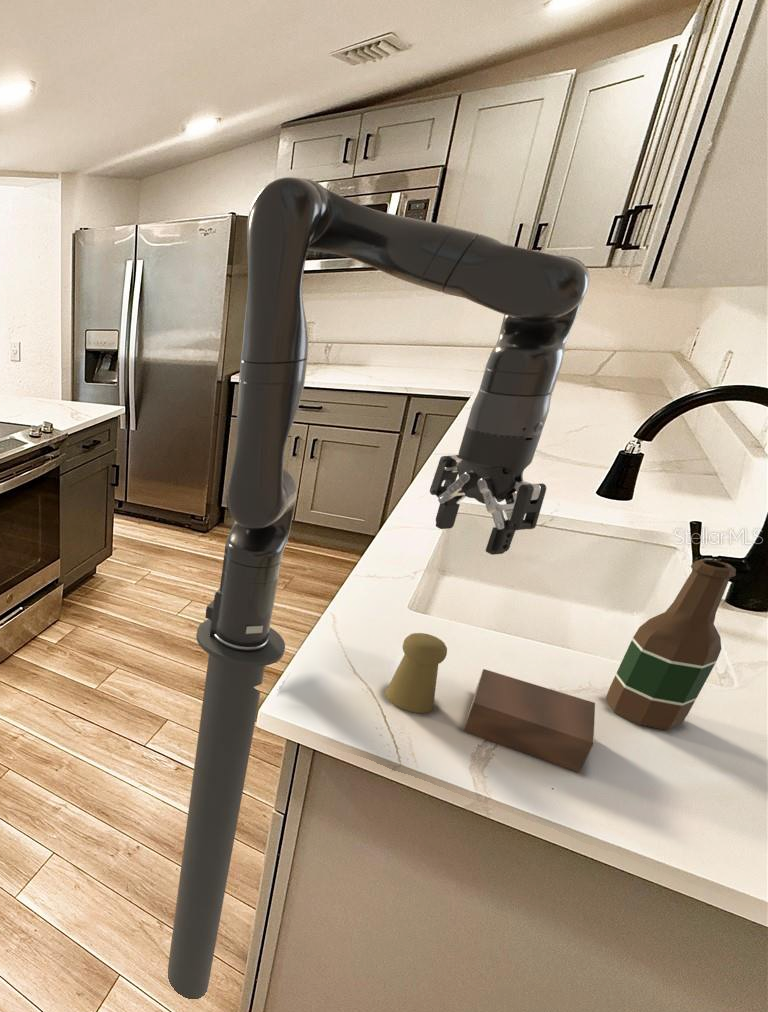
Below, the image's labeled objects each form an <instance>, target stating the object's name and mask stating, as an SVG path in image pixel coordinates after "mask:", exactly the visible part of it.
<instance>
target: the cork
mask: <svg viewBox="0 0 768 1012" xmlns="http://www.w3.org/2000/svg"><path fill="white" fill-rule="evenodd" d="M402 651H403V653H404V655H403V656H402V658H401V660H400V663H399V665H398V666H397V669H396V671H395V672H394V675H393V676H392V678H391V681H390V682H389V684H388V686H387V689H386V690H385V693H384V694H385V697H386V699H387V700H388V701H389V702H390V703H391V704H393V705H394V706H395V707H398V708H399V709H401V710H405V711H407V712H409V713H410V712H411V713H416V714H426V713H429V712H431V711H432V710H433V709H434V706H435V705H434V704H435V697H436V687H437V680H438V672H439V665H440V664H441V663H442V662H444V661H445V659H446V657H447V655H448V648H447V645H446V643H445V642H444V641H443V640H442V639H440V638H438V637H437V636H435V635H432V634H428V633H423V632H415V633H411V634H409V635H408V636H406V637H405V638H404V639H403V643H402Z"/></svg>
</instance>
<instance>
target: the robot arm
mask: <svg viewBox="0 0 768 1012" xmlns="http://www.w3.org/2000/svg"><path fill="white" fill-rule="evenodd" d="M246 243H247V244H246V245H247V246H246V247H247V298H246V305H245V312H244V313H245V315H244V323H243V337H242V338H243V339H242V345H241V353H240V364H239V376H238V378H239V379H238V399H237V400H238V401H237V412H236V413H237V414H236V435H235V436H236V440H235V441H236V442H235V448H234V455H233V461H232V465H231V471H230V475H229V480H228V485H227V489H226V499H225V500H226V507H227V510H228V513H229V515H230V518H231V519H232V520H233V522H232V526H231V529H230V531H229V533H228V535H227V538H226V541H225V545H224V546H225V547H224V553H223V560H222V569H221V576H220V584H219V589H217V590H216V591H215V592H214V598H213V599H212V601H211V602H210V603H208V604H207V605H206V609H205V617H204V618H205V619H206V620H208V619H210V620H211V628H210V635H209V636H210V637H212V638H215V640H216V641H217V642H218V643H220V644H221V645H223V646H225V647H227V648H229V649H232V650H236V651H241V652H256V651H260V650H262V649H264V648H265V647H266V646H267V643H268V636H269V629H270V628H271V622H272V616H273V611H274V606H275V600H276V595H277V588H278V582H279V576H280V570H281V565H282V560H283V555H284V551H285V548H286V546H287V544H288V540H289V537H290V532H291V528H292V522H293V518H294V514H295V508H296V503H297V490H298V489H297V484H296V482H295V479H294V477H293V476H292V474H291V473H290V472H289V471H287V470H286V469H285V468H284V461H285V460H284V458H285V452H286V446H287V442H288V438H289V436H290V432H291V429H292V427H293V424H294V421H295V420H296V419H295V418H296V417H297V412H298V409H299V406H300V403H301V400H302V397H303V392H304V388H305V382H306V376H307V375H306V374H307V367H308V358H309V332H308V331H309V330H308V324H307V323H308V322H307V318H306V317H307V316H306V312H305V306H304V300H303V281H304V272H305V266H306V261H307V260H306V259H307V253H308V251H314V252H319V253H327V254H332V255H338V256H341V257H345V258H348V259H351V260H355V261H358V262H359V263H363V264H365V265H367V266H370V267H371V268H374V269H376V270H378V271H380V272H383V273H385V274H387V275H389V276H392V277H394V278H396V279H398V280H402V281H404V282H407V283H410V284H413V285H416V286H419V287H422V288H426V289H429V290H432V291H436V292H439V293H443V294H446V295H449V296H454V297H459V298H463V299H466V300H468V301H470V302H473V303H475V304H478V305H480V306H482V307H484V308H487V309H489V310H492V311H494V312H497V313H500V314H502V315H504V316H503V318H502V322H501V326H500V329H499V334H498V338H497V341H496V344H495V345H494V347H493V348H492V350H491V352H490V354H489V356H488V358H487V362H486V365H485V368H484V373H483V375H482V379H481V382H480V386H479V389H478V391H477V394H476V397H475V398H474V401H473V403H472V404H471V405H472V406H471V409H470V411H469V414H468V419H467V422H466V426H465V429H464V432H463V437H462V440H461V442H460V447H459V449H458V454H452V455H451V454H450V455H442V456H440V458H439V461H438V464H437V467H436V470H435V473H434V476H433V479H432V482H431V485H430V488H429V493H430V495H432V496H436V497H437V500H438V503H439V506H438V510H437V512H436V516H435V527H436V528H438V529H439V530H449V529H452V528H453V527H454V526H455V523H456V519H457V516H458V514H459V513H458V512H459V510H460V506H461V504H460V503H459V502H461V501H463V500H464V499H465V498H468V499H475V500H476V501H477V502H479V503H480V504H483V505H485V509H486V512H488V513H490V514H491V516H492V519H493V523H494V527H492V529H491V533H490V535H489V538H488V540H487V544H486V548H485V552H486V553H488V554H489V555H493V556H494V555H502V554H504V553H505V552H508V551H509V549H510V547H511V545H512V542H513V539H514V535H515V534H516V532H517V531H523V530H533V529H535V528H536V526H537V524H538V520H539V516H540V513H541V510H542V507H543V502H544V499H545V495H546V492H547V486H546V484H545V483H543V482H542V483H531V482H528V481H525V480H524V477H523V476H524V471H525V470H526V469H527V468H528V467H529V465H531V464H532V462H533V459H534V457H535V453H536V451H537V448H538V446H539V445H538V444H539V442H540V440H541V439H540V438H541V437H542V433H543V430H544V427H545V423H546V421H547V419H548V416H549V412H550V406H551V399H552V396H553V392H554V390H555V386H556V383H557V381H558V378H559V375H560V371H561V368H562V364H563V361H564V355H565V348H566V343H567V341H568V338H569V336H570V333H571V331H572V329H573V326H574V324H575V321H576V319H577V316H578V313H579V311H580V309H581V306H582V304H583V301H584V298H585V296H586V294H587V292H588V289H589V285H590V272H589V270H588V268H587V265H585V264H584V262H583V261H581V260H580V259H578V258H575V257H573V256H571V255H565V254H564V255H563V254H551V253H545V252H541V251H537V250H532V249H527V248H523V247H519V246H515V245H510V244H505V243H503V242H501V241H500V240H498V239H495V238H493V237H490V236H488V235H485V234H481V233H478V232H473V231H470V230H466V229H462V228H458V227H454V226H451V225H446V224H442V223H437V222H433V221H429V220H424V219H418V218H412V217H407V216H403V215H398V214H392V213H389V212H384V211H382V210H378V209H373V208H371V207H368V206H366V205H363V204H360V203H358V202H354V201H353V200H350V199H348V198H345V197H344V196H342V195H340V194H338V193H336V192H334V191H332V190H330V189H328V188H326V187H324V186H323V185H322V184H320V183H319V182H318V181H315V180H313V179H308V178H302V177H293V176H287V177H281V178H277V179H275V180H272V181H271V182H269V183H268V184H267V185H265V186H264V187H263V188H262V189H261V190H260V191H259V192H258V194H257V195H256V197H255V198H254V200H253V201H252V204H251V207H250V209H249V212H248V217H247V223H246ZM443 483H444V484H443ZM503 501H505V503H504V504H500V503H501V502H503ZM506 518H507V519H506Z"/></svg>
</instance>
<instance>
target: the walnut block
mask: <svg viewBox="0 0 768 1012" xmlns="http://www.w3.org/2000/svg"><path fill="white" fill-rule="evenodd" d="M595 713H596V703H595V702H594V701H590V700H587V699H583V698H580V697H577V696H574V695H572V694H571V695H570V694H568V693H565V692H561V691H557V690H554V689H551V688H548V687H544V686H541V685H538V684H535V683H531V682H527V681H525V680H521V679H518V678H516V677H515V678H514V677H512V676H508V675H505V674H502V673H498V672H495V671H493V670H489V669H485V668H483V669H482V671H481V674H480V676H479V680H478V683H477V685H476V688H475V691H474V693H473V697H472V700H471V704H470V708H469V711H468V714H467V716H466V721H465V723H464V728H463V732H465V733H468V734H471V735H473V736H476V737H479V738H481V739H485V740H487V741H489V742H492V743H496V744H498V745H501V746H504V747H507V748H510V749H512V750H515V751H518V752H521V753H523V754H525V755H529V756H532V757H535V758H537V759H540V760H543V761H546V762H548V763H551V764H554V765H556V766H559V767H563V768H564V769H567V770H570V771H573V772H576V773H578V774H580V773H581V771H582V769H583V767H584V764H585V762H586V760H587V758H588V756H589V754H590V753H591V749H592V747H593V745H594V741H595V716H596V714H595Z"/></svg>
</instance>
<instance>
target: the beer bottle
mask: <svg viewBox="0 0 768 1012" xmlns="http://www.w3.org/2000/svg"><path fill="white" fill-rule="evenodd" d="M690 568H691V569H692V570H691V572H690V574H689V575H688V577H687V578H686V580H685V582H684V584H683V585H682V587H681V589H680V590H679V592H678V593H677V595H676V597H675V598H674V600H673V602H672V603H671V604H670V605H669V607H668V608H667V609H666V610H665V611H664V612H662V613H660V614H657V615H655V616H653V617H651V618H649V619H648V620H646V621H645V622H644V623H643V624H642V625H640V626H639V627H638V629H637V630H636V631H635V633H634V635H633V637H632V639H631V640H630V643H629V645H628V647H627V649H626V652H625V653H624V655H623V658H622V660H621V662H620V665H619V667H618V669H617V671H616V673H615V675H614V677H613V679H612V682H611V684H610V686H609V688H608V691H607V694H606V697H605V700H606V702H607V704H608V706H609V707H610V708H611V710H612V711H613V713H614V714H616V715H618V716H621V717H622V718H624V719H627V720H628V721H631V722H632V723H635V724H636V725H639V726H644V727H649V728H652V729H653V728H654V729H658V730H663V731H667V730H670V729H672V728H674V727H677V726H679V725H681V724H683V722H684V721H685V720H686V718H687V716H688V714H689V713H690V711H691V709H692V707H693V706H694V704H695V702H696V700H697V698H698V696H699V695H700V694H701V690H702V689H703V687H704V686H705V683H706V682H707V680H708V678H709V677H710V674H711V672H712V670H713V669H714V667H715V666H716V663H717V661H718V659H719V657H720V653H721V651H722V640H721V635H720V634H719V632H718V629H717V627H716V625H715V620H716V615H717V612H718V610H719V608H720V607H719V606H720V604H721V602H722V599H723V596H724V594H725V591H726V589H727V587H728V585H729V582H730V579H731V578H733V577H735V576H736V574H737V573H736V572H737V569H736V567H734V566H732V565H731V564H729V563H727V562H723V561H720V560H717V559H708V558H702V559H698V560H696V561H694V562H693V563H692V564H691V565H690Z"/></svg>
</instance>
